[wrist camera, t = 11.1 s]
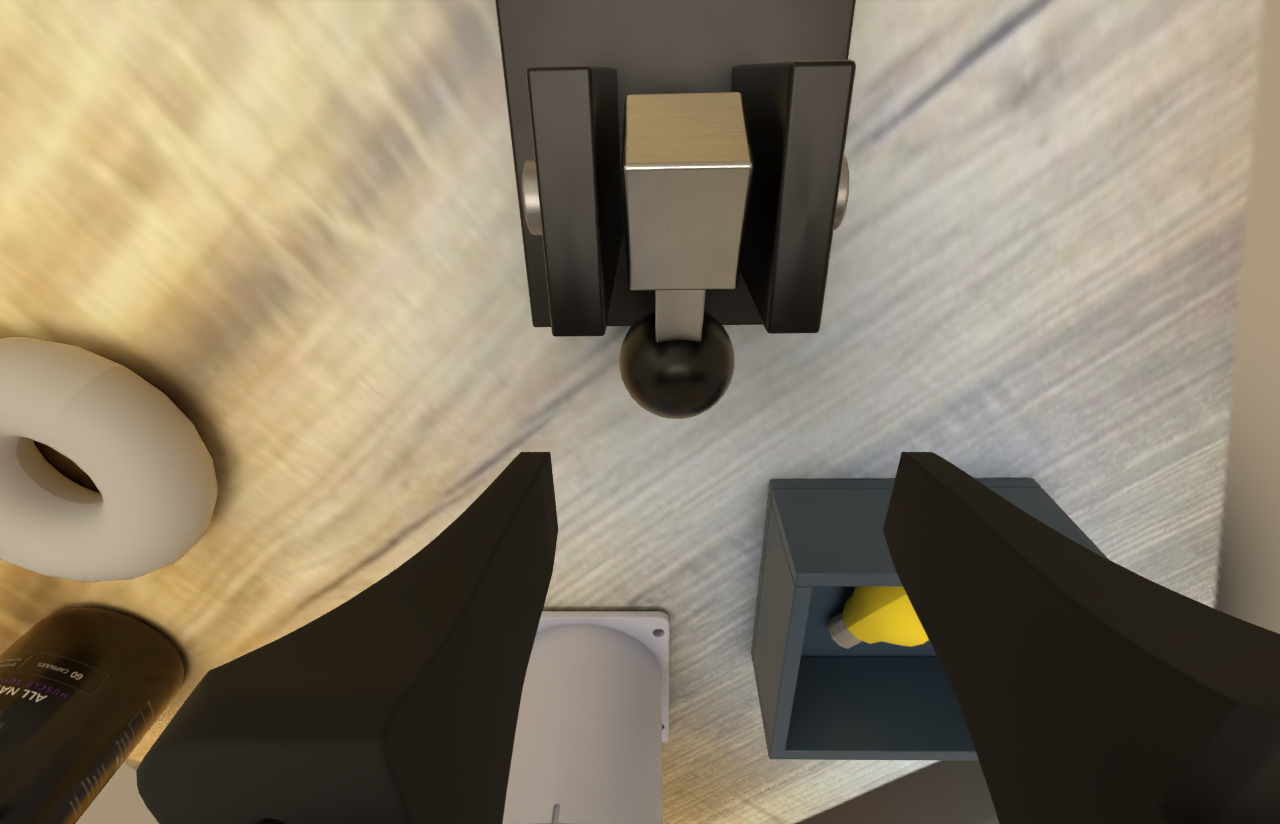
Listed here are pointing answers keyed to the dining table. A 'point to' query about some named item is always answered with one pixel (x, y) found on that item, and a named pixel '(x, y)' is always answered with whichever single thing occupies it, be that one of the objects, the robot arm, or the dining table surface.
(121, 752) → the supplement bottle
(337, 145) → the dining table surface
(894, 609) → the light bulb
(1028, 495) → the bin
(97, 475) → the donut
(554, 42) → the bracket
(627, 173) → the lever
